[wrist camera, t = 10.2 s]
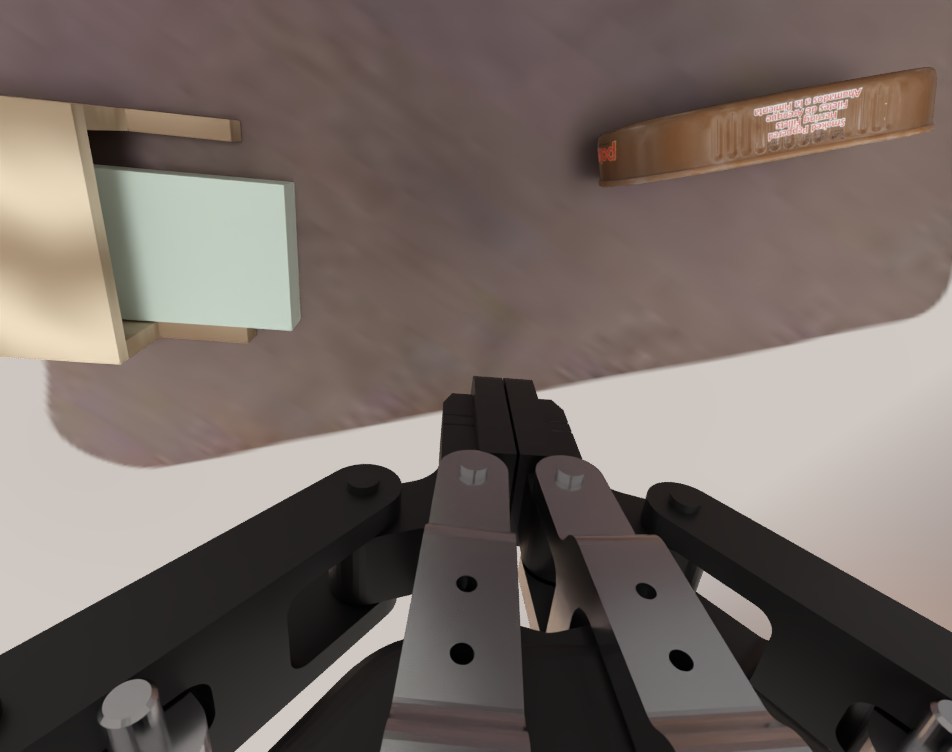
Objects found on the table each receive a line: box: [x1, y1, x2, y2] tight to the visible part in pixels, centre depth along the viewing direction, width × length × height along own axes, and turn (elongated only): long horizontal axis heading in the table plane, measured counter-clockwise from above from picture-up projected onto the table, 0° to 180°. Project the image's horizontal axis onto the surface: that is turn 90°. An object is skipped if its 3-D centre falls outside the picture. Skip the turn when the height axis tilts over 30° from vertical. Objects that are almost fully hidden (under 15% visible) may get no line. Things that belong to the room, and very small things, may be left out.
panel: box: [93, 164, 301, 331], centre depth 29 cm, size 8×15×2 cm, turn 85°
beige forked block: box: [0, 95, 256, 365], centre depth 27 cm, size 12×13×6 cm
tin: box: [598, 67, 937, 187], centre depth 25 cm, size 15×3×8 cm, turn 100°
